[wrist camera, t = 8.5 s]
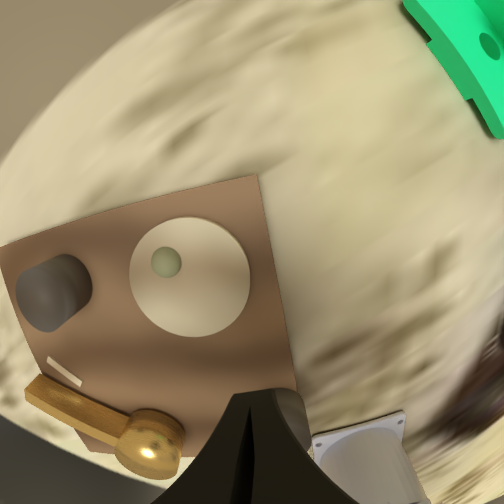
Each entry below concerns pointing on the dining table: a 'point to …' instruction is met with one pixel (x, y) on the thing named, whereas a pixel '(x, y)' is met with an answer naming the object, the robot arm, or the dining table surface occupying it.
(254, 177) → the levelling base
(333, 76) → the dining table surface
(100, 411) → the brass lever handle
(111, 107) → the dining table surface
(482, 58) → the green triangular bracket
